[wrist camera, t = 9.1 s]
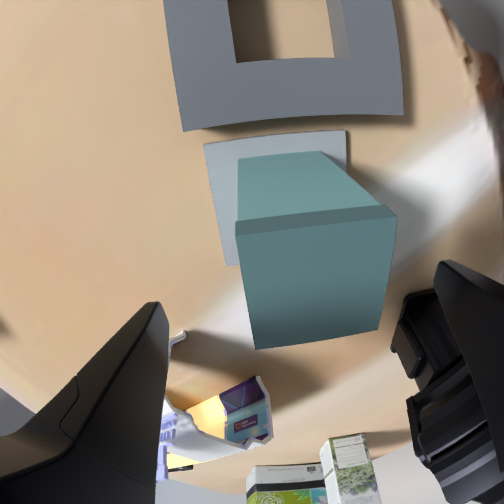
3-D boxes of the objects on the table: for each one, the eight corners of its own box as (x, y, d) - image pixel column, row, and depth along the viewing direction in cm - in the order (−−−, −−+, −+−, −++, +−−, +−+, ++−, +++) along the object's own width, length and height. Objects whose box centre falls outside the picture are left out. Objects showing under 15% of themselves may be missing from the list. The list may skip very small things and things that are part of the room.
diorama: (173, 319, 20) (143, 502, 9) (268, 377, 24) (282, 518, 13) (68, 404, 28) (45, 487, 17) (132, 436, 32) (121, 515, 21)
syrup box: (318, 451, 36) (331, 531, 24) (328, 437, 33) (344, 528, 21) (352, 445, 36) (368, 522, 24) (365, 431, 33) (386, 517, 21)
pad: (342, 129, 13) (345, 130, 13) (342, 247, 17) (345, 250, 17) (204, 143, 14) (203, 145, 13) (226, 262, 17) (226, 266, 17)
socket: (360, -49, 8) (374, -62, 6) (384, 111, 13) (403, 115, 11) (166, -42, 8) (157, -58, 6) (190, 126, 13) (183, 132, 11)
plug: (319, 149, 14) (397, 216, 7) (322, 223, 16) (377, 329, 9) (236, 157, 14) (234, 236, 7) (247, 232, 16) (255, 349, 9)
